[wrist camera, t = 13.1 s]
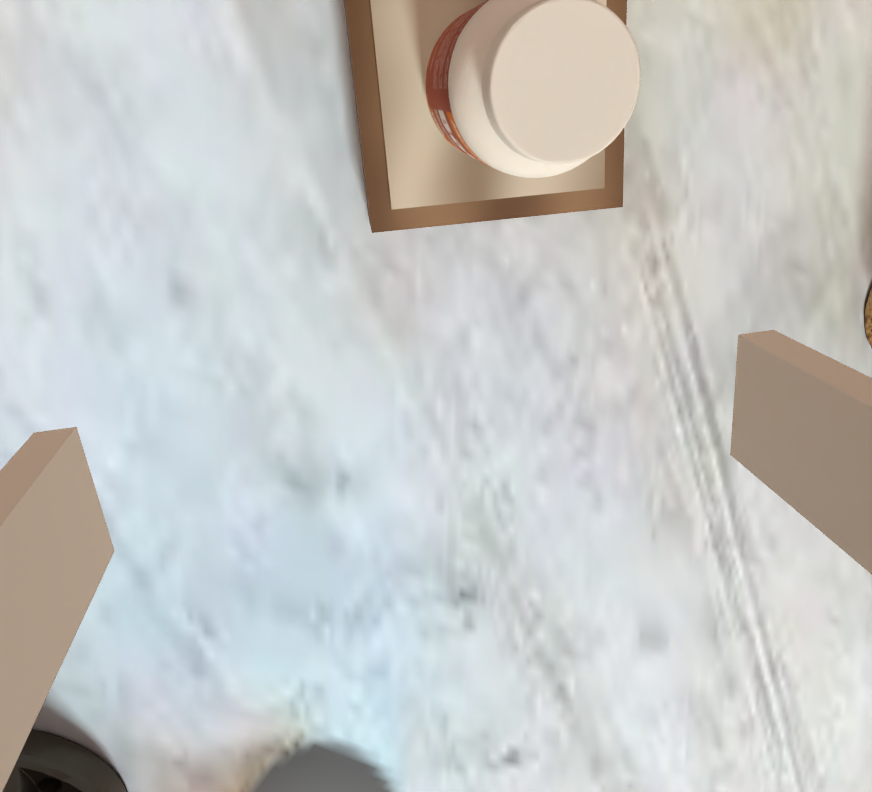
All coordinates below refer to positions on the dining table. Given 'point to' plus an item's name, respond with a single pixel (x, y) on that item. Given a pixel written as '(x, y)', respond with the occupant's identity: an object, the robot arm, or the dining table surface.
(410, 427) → the dining table surface
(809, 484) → the robot arm
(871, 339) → the vase
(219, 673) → the dining table surface
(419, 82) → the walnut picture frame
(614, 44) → the pill bottle
